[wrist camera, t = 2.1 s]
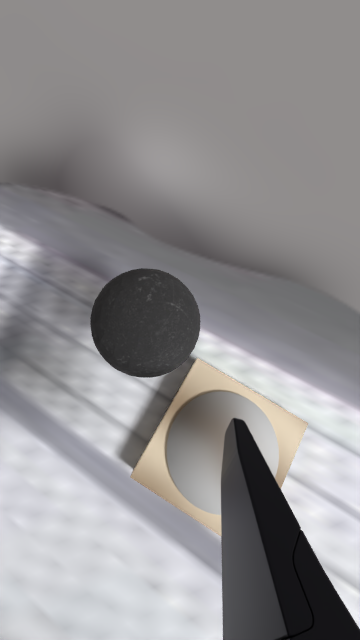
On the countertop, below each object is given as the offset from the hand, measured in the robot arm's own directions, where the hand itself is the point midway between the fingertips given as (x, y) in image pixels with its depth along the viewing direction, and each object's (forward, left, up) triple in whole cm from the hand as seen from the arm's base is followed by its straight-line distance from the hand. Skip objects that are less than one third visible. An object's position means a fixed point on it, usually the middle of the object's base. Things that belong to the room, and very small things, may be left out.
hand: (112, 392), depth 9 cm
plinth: (-1, -7, -10) cm, 12 cm away
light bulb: (+3, +1, -11) cm, 11 cm away
